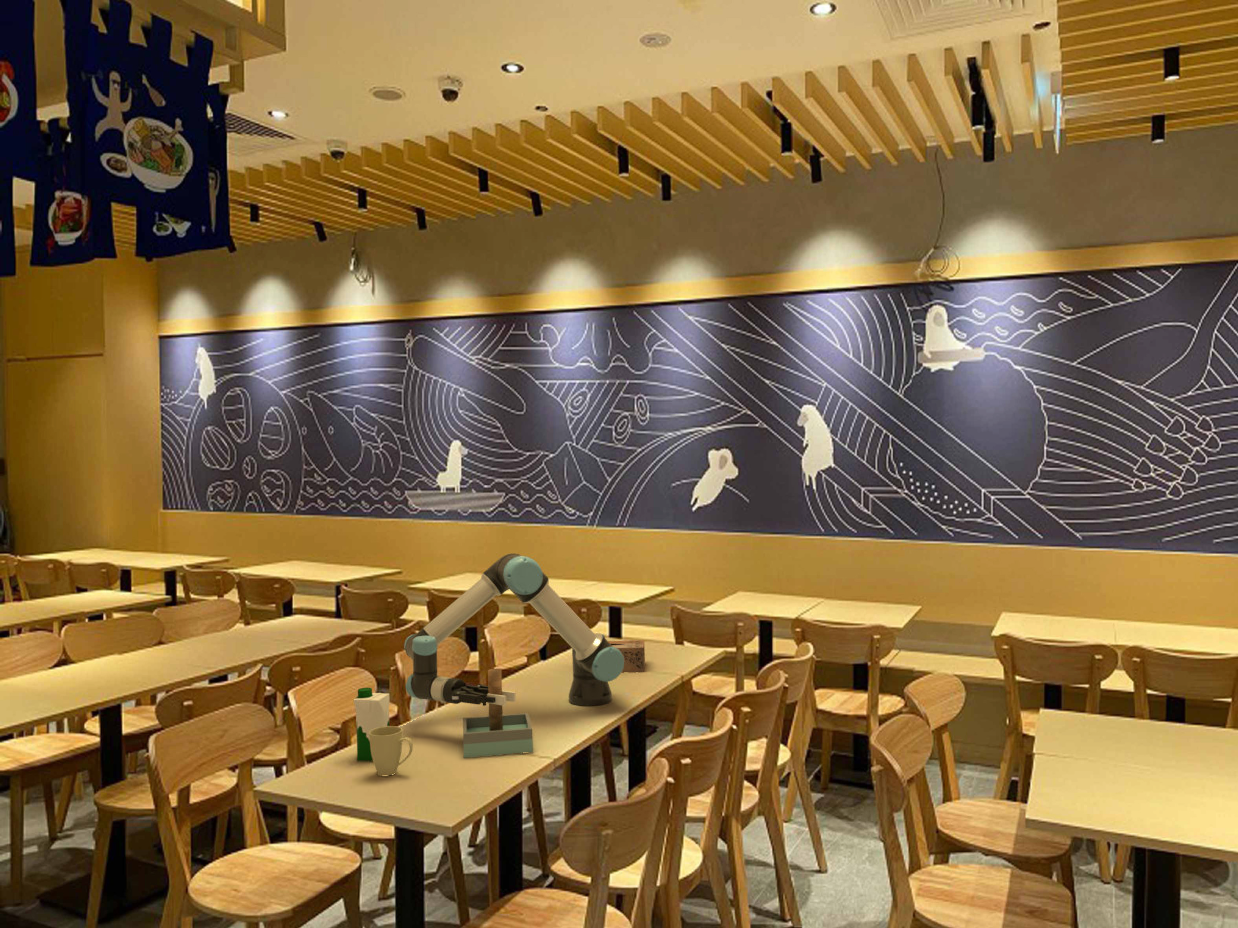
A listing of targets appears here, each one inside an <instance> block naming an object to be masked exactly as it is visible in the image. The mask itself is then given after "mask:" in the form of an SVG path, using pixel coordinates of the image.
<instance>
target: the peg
mask: <svg viewBox="0 0 1238 928" xmlns="http://www.w3.org/2000/svg"><path fill="white" fill-rule="evenodd" d="M502 676H503V675H502V669H501V668H491V669H487V680H488V681H487V682H488V683H487V684H488V685H487V686H488V691H489V694H496V695H502V691H503V684H502V683H503V682H502V681H503V680H502V679H503V678H502ZM503 715H504V714H503V705H497V704H490V703H488V716H489V730H490V731H497V730H503Z"/></svg>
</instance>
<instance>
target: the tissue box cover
mask: <svg viewBox="0 0 1238 928" xmlns="http://www.w3.org/2000/svg"><path fill="white" fill-rule="evenodd" d="M607 641H608V642H609V643H610V644H611V645H612V646H613V647H615V648H617V649H619V651H620V652H621V653H622V655H623V657H624V668H623V670H622V672H621V674H625V673H624V672H628V673H627V674H632V673H635V674H636V672H638V673H645V672H646V657H645V656H646V654H645V640H644V639H638V640H637V639H634V640H633V639H632V640H628V639H627V640H607Z"/></svg>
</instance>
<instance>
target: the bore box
mask: <svg viewBox="0 0 1238 928" xmlns="http://www.w3.org/2000/svg"><path fill="white" fill-rule="evenodd" d="M462 735H463V736H462V741H463V742H462V743H463V759H469V758H468V757H471V758H479V757H478V756H484V757H491V756H490V755H496V756H501V755H500V754H509V755H513V754H512V753H521V754H524V753H523V752H533V753H534V747H533V745H534V743H533V741H534V740H533V726H532V723H531V718H530V715H529V712H524V713H511V714H510V713H509V714H503V730H497V731H490V730H489V715H487V716H486V715H483V716H473V717H472V716H471V717H469V716H468V717H463V718H462Z"/></svg>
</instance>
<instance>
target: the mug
mask: <svg viewBox="0 0 1238 928" xmlns="http://www.w3.org/2000/svg"><path fill="white" fill-rule="evenodd" d="M369 738H370V748H371V755H372V759H373V761H372V762H373V765H374V767H375V770H376V773H377V775H378V776H379V775H392V774H394V773H396V774H397V771H398V768H399V766H400V765H402V764H403V763H405V761H407V759H408V758H409V757H410V756H411V755H412V753H413V748H414V746H413V741H412V739H411V737H410V738H409V737H403V728H402V727H400V726H392V725H389V726H385V727H379V728H375V729H373V730H371V731H370V732H369ZM404 741H407V743H408V745H409V751H408V754H407V755H406V756H405V757H404V759H402V760H401V756H402V751H403V750H402V747H403V746H402V745H403V742H404ZM400 760H401V761H400ZM392 776H393V775H392Z"/></svg>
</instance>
